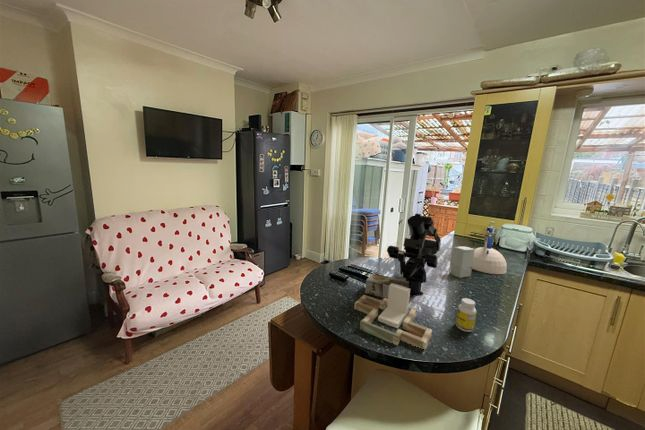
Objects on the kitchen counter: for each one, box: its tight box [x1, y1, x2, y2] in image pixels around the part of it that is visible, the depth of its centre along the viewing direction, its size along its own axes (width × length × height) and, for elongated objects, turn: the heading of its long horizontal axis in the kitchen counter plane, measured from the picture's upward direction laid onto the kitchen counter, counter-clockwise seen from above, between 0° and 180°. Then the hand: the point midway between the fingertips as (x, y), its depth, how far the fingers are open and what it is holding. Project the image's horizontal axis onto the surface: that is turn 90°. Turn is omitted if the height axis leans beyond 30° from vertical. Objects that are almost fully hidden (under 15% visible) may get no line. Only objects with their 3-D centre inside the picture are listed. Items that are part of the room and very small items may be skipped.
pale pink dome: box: [472, 236, 508, 275], centre depth 145 cm, size 20×21×18 cm
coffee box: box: [364, 272, 409, 299], centre depth 107 cm, size 9×6×16 cm
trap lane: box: [353, 294, 433, 351], centre depth 88 cm, size 21×27×3 cm
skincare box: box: [450, 246, 476, 279], centre depth 132 cm, size 8×6×15 cm
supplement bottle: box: [455, 297, 477, 333], centre depth 86 cm, size 5×5×10 cm
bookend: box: [377, 283, 411, 330], centre depth 90 cm, size 11×7×10 cm, turn 145°
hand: (405, 275), depth 97 cm, fingers open, 3 cm apart
